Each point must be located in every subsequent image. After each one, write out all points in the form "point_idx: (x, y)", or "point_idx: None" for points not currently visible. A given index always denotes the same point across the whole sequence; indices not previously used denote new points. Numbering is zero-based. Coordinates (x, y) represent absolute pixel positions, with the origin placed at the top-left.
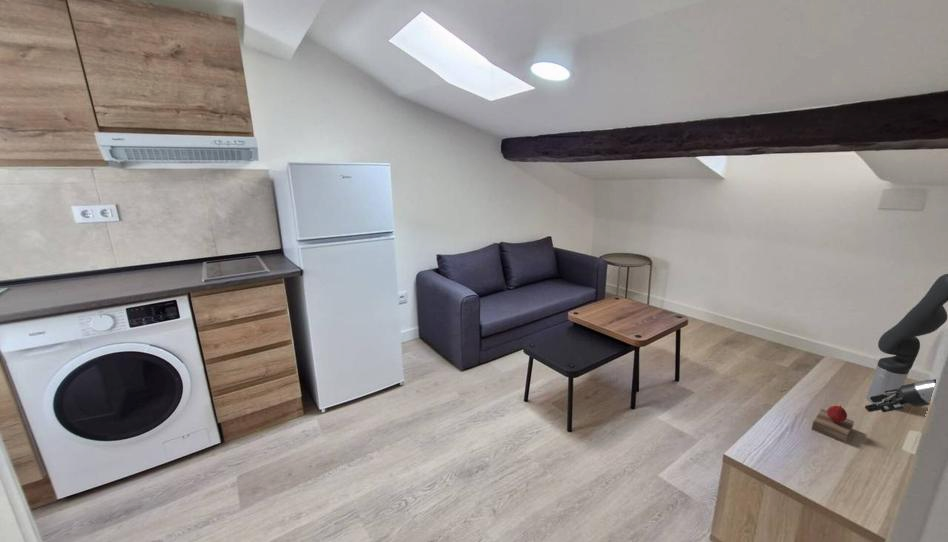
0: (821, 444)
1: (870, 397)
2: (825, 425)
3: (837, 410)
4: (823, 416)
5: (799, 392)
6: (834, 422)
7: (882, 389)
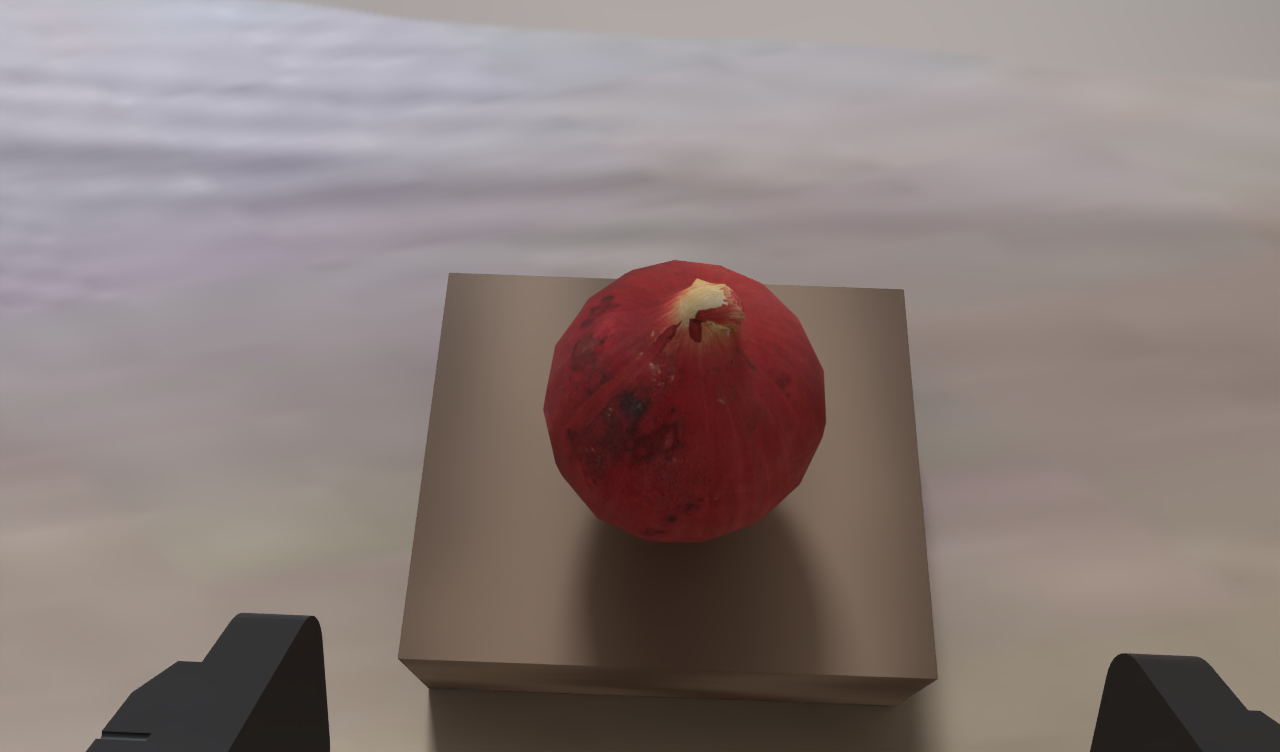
0: (184, 485)
1: (1129, 661)
2: (444, 396)
3: (595, 346)
4: None
5: (1276, 103)
6: None
7: None
